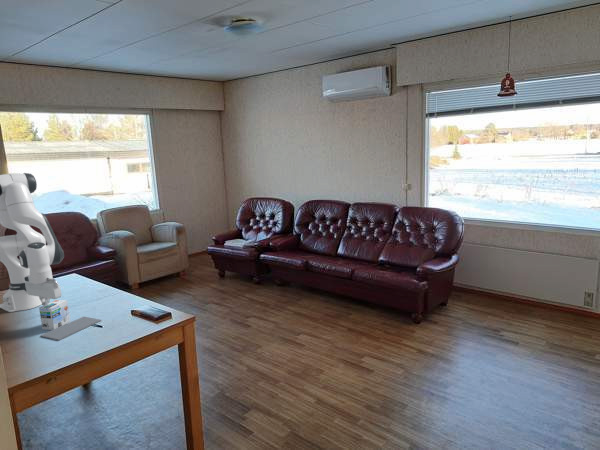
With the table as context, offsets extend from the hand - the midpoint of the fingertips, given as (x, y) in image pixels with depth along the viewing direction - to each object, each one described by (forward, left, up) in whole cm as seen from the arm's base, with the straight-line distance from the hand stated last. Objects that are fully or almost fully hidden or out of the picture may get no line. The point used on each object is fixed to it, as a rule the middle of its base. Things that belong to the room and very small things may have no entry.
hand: (46, 305), depth 199 cm
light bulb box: (+5, 0, -10) cm, 11 cm away
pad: (+16, 0, -9) cm, 18 cm away
